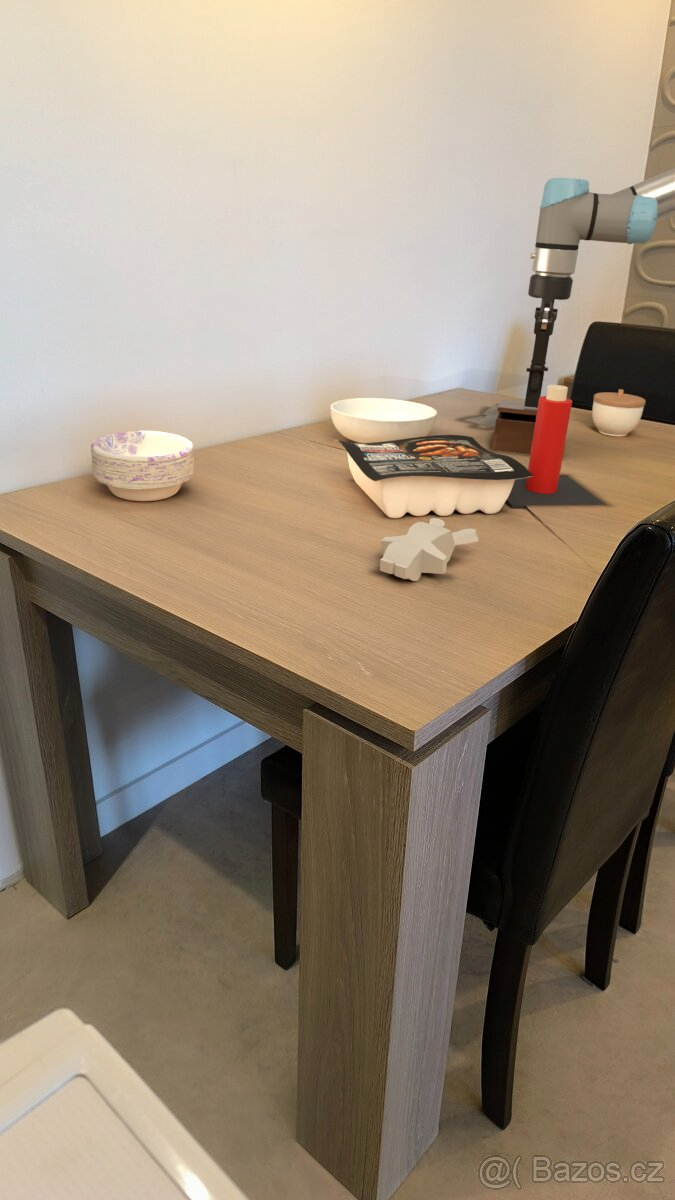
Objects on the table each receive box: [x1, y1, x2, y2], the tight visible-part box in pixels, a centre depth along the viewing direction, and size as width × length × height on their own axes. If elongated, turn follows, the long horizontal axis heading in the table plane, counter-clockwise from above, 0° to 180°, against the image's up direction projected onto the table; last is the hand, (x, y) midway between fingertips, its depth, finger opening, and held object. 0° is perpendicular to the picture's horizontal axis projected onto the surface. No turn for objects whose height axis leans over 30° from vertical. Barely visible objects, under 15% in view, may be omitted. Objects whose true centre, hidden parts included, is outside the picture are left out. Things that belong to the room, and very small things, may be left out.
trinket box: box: [591, 388, 646, 437], centre depth 179 cm, size 11×11×9 cm
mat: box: [505, 474, 607, 509], centre depth 139 cm, size 16×16×1 cm
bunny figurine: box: [379, 517, 480, 582], centre depth 107 cm, size 10×5×15 cm
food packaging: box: [334, 434, 533, 519], centre depth 131 cm, size 25×8×23 cm
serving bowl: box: [330, 397, 438, 443], centre depth 162 cm, size 21×21×7 cm
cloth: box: [465, 402, 500, 429], centre depth 186 cm, size 26×14×2 cm, turn 148°
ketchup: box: [525, 384, 573, 494], centre depth 135 cm, size 5×5×17 cm
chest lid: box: [497, 399, 538, 415], centre depth 162 cm, size 15×13×1 cm
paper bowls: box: [90, 430, 195, 502], centre depth 127 cm, size 15×15×8 cm
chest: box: [491, 412, 537, 455], centre depth 164 cm, size 15×13×7 cm
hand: (531, 406), depth 158 cm, fingers closed
